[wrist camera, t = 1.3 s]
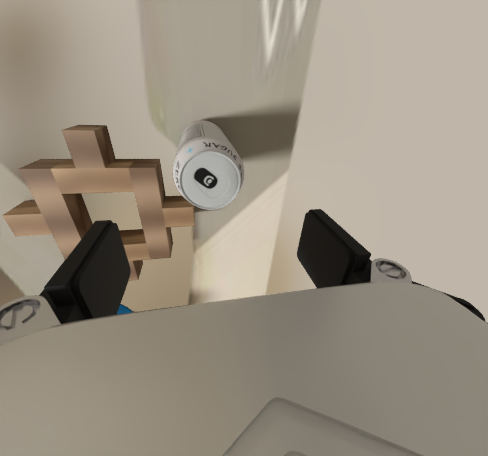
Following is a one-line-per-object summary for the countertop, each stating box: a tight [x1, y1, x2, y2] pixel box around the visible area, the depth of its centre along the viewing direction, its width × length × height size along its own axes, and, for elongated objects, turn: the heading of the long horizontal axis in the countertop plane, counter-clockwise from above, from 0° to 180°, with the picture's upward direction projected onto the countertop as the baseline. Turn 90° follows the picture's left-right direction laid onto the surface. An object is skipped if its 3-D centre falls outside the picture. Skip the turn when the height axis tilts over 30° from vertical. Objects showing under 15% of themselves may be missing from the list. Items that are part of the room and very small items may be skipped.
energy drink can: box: [173, 120, 244, 210], centre depth 23 cm, size 6×6×15 cm
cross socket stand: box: [2, 125, 194, 281], centre depth 30 cm, size 22×22×4 cm
